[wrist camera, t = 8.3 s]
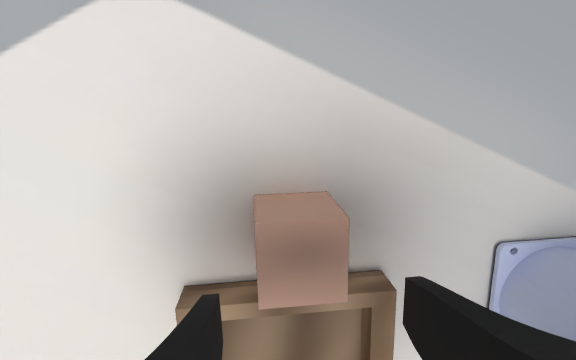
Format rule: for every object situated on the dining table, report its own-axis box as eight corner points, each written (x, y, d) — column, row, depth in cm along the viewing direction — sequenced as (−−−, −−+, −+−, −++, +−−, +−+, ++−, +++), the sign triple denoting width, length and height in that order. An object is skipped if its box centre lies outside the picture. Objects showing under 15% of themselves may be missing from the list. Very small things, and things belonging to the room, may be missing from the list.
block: (326, 191, 20) (349, 218, 15) (326, 257, 21) (347, 302, 16) (254, 194, 20) (254, 223, 15) (257, 261, 21) (258, 309, 16)
